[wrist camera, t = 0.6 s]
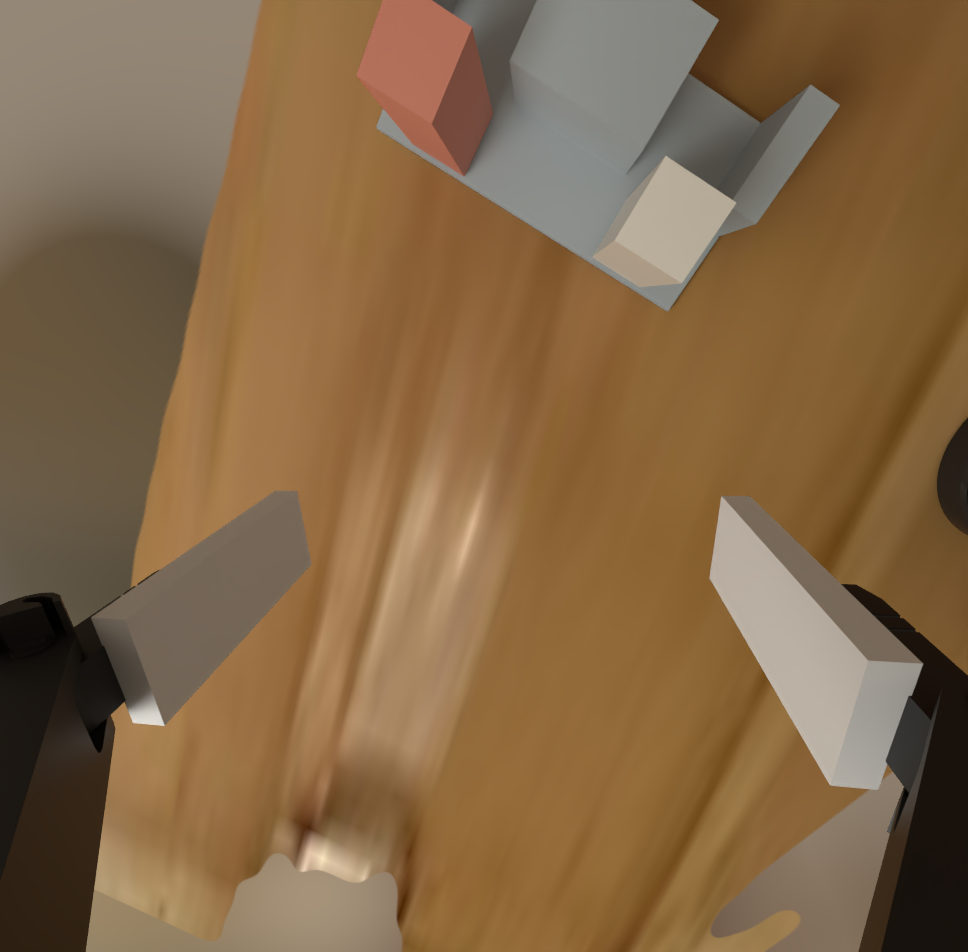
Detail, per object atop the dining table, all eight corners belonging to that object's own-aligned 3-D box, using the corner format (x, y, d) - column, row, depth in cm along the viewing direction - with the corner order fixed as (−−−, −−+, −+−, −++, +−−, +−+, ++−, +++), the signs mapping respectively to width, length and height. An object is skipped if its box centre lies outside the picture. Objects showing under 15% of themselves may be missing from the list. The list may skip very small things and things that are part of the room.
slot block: (781, 142, 31) (840, 105, 25) (666, 311, 36) (692, 313, 30) (458, -79, 29) (436, -179, 23) (379, 130, 34) (343, 93, 27)
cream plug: (675, 231, 33) (736, 202, 23) (639, 287, 35) (681, 283, 24) (625, 199, 33) (665, 155, 22) (591, 257, 34) (614, 240, 24)
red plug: (493, 113, 32) (472, 26, 21) (464, 176, 33) (431, 123, 23) (439, 78, 31) (392, -27, 21) (412, 144, 33) (356, 75, 23)
